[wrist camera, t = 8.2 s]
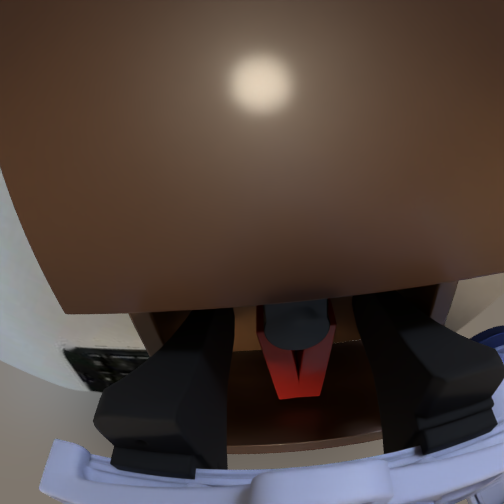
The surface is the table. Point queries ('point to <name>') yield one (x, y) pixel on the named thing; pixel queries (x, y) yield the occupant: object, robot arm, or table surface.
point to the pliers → (296, 344)
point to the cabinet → (252, 147)
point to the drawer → (299, 408)
